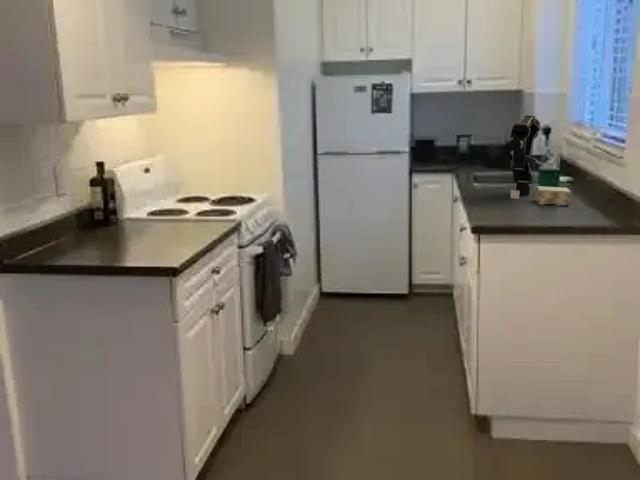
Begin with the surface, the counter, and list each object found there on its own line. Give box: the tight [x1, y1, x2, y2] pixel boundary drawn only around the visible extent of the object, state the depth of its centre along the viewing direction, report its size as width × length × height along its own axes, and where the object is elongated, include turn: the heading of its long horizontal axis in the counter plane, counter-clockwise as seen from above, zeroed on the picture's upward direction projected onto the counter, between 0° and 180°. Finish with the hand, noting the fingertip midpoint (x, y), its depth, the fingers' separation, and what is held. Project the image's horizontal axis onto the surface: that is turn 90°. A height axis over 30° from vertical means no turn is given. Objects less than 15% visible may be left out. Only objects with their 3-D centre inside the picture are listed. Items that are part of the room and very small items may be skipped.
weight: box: [510, 189, 520, 200], centre depth 344 cm, size 4×4×4 cm
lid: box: [536, 185, 571, 193], centre depth 330 cm, size 14×14×1 cm
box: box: [535, 187, 571, 205], centre depth 331 cm, size 14×14×6 cm
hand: (516, 181), depth 342 cm, fingers open, 9 cm apart
